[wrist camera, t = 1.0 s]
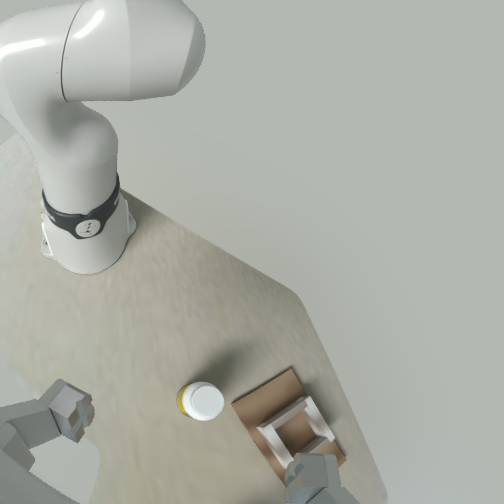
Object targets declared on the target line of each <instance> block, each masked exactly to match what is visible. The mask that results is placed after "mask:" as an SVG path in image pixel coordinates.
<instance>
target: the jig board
mask: <svg viewBox="0 0 504 504" xmlns="http://www.w3.org/2000/svg"><path fill="white" fill-rule="evenodd" d="M231 405H232V407H233V408H234V410H235V412H236V413H237V415H238V416H239V418H240V420H241V421H242V423H243V425H244V426H245V428H246V429H247V431H248V432H249V434H250V436H251V437H252V439H253V440H254V442H255V443H256V445H257V446H258V448H259V449H260V451H261V452H262V454H263V455H264V457H265V458H266V460H267V461H268V463H269V464H270V465H271V467H272V468H273V470H274V471H275V472H276V474H277V475H278V477H279V478H280V479H281V481H282V482H283V483H284V485H285V486H286V488H287V487H288V485H287V483H286V482H285V471H286V468H287V466H288V464H289V463H290V462H291V461H293V460H294V456H295V454H296V453H316V454H334V455H335V456H336V458H337V464H338V468H339V467H340V466H341V465H342V464H343V463H344V462H345V461H346V458H345V457H344V455H343V453H342V452H341V450H340V449H339V447H338V445H337V444H336V442H335V441H334V439H335V436H334V435H333V433H332V432H331V430H330V428H329V427H328V425H327V423H326V422H325V420H324V418H323V417H322V415H321V413H320V412H319V410H318V408H317V407H316V405H315V403H314V402H313V400H312V398H311V397H310V396H307V394H306V393H305V391H304V389H303V388H302V386H301V384H300V383H299V381H298V379H297V378H296V376H295V374H294V372H293V371H292V369H288V370H287V371H285V372H284V373H282V374H280V375H279V376H277V377H276V378H274V379H272V380H271V381H269V382H268V383H266V384H264V385H263V386H261V387H259V388H258V389H256V390H254V391H252V392H251V393H249V394H247V395H246V396H244V397H242V398H240V399H238V400H237V401H235V402H233V403H231Z"/></svg>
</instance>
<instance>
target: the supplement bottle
mask: <svg viewBox="0 0 504 504" xmlns="http://www.w3.org/2000/svg"><path fill="white" fill-rule="evenodd" d="M176 402H177V406H178V408H179V410H180V411H181V412H182V413H183V414H184V415H186V416H188V417H190V418H194V419H196V420H202V421H206V420H211V419H213V418H215V417H216V416H217V415H218V414H219V413H220V412H221V410H222V409H223V406H224V397H223V395H222V393H221V392H220V391H219V389H218V388H217V387H216V386H214V385H213V384H211V383H208V382H195V383H192V384H189V385H186V386H184V387H183V388H182V389H181V390H180V391H179V392H178V394H177V398H176Z"/></svg>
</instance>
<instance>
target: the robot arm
mask: <svg viewBox="0 0 504 504" xmlns="http://www.w3.org/2000/svg"><path fill="white" fill-rule="evenodd" d="M204 53H205V34H204V30H203V27H202V25H201V23H200V21H199V19H198V18H197V16H196V15H195V14H194V13H193V12H192V11H191V10H190V9H189V8H188V7H187V6H186V5H185V4H184V2H183V1H182V0H89V1H86V2H77V3H69V4H60V5H53V6H47V7H41V8H36V9H32V10H28V11H25V12H23V13H20V14H18V15H16V16H14V17H11V18H9V19H7V20H5V21H3V22H2V23H0V116H1V117H2V118H4V119H5V120H6V121H7V122H8V123H9V124H10V125H11V126H12V127H13V128H14V129H15V131H16V132H17V133H18V134H19V135H20V137H21V138H22V139H23V141H24V142H25V144H26V145H27V147H28V148H29V150H30V152H31V153H32V155H33V158H34V160H35V163H36V166H37V170H38V173H39V176H40V180H41V183H42V187H43V190H42V196H43V197H42V198H41V208H42V210H45V211H44V212H41V219H42V220H44V222H42V228H43V232H42V245H41V250H42V253H43V255H44V256H46V257H48V258H51V259H54V260H56V261H58V262H59V263H60V264H61V265H62V266H63V267H65V268H66V269H68V270H69V271H72V272H75V273H79V274H93V273H97V272H100V271H102V270H105V269H106V268H108V267H110V266H111V265H112V264H113V263H115V262H116V261H117V259H118V258H119V257H120V256H121V254H122V252H123V250H124V248H125V245H126V242H127V239H128V238H129V237H130V236H131V235H132V234H133V232H134V231H135V230H136V227H137V225H136V221H135V219H134V218H133V216H132V215H131V213H130V211H129V210H128V202H127V200H125V199H124V197H123V195H122V194H121V192H120V182H119V176H118V173H117V152H118V139H117V135H116V132H115V130H114V128H113V127H112V125H111V123H110V122H109V121H108V120H107V119H106V118H105V117H104V116H103V115H101V114H100V113H98V112H96V111H94V110H92V109H90V108H88V107H87V106H85V105H84V104H83V103H82V102H81V101H133V100H141V99H148V98H156V97H164V96H172V95H174V94H176V93H177V92H179V91H180V90H181V89H182V88H184V87H185V86H186V85H187V84H188V83H189V82H190V80H191V79H192V78H193V77H194V75H195V74H196V73H197V71H198V69H199V67H200V65H201V63H202V60H203V57H204ZM47 243H48V245H46V244H47ZM91 401H92V398H91V395H90V394H88V393H86V392H84V391H82V390H80V389H78V388H77V387H75V386H73V385H71V384H70V383H68V382H66V381H64V380H62V379H58V380H56V381H55V382H54V383H53V384H52V386H51V387H50V388H49V389H48V390H47V391H46V392H45V393H44V394H43V395H42V396H41V398H40V399H39V400H36V399H34V400H30V401H26V402H22V403H18V404H14V405H9V406H5V407H0V504H79V503H78V502H76V501H74V500H72V499H71V498H69V497H67V496H65V495H64V494H62V493H60V492H59V491H57V490H56V489H54V488H53V487H51V486H49V485H48V484H46V483H45V482H43V481H42V480H41V479H39V478H38V477H36V476H35V475H33V474H32V473H31V472H29V470H30V468H31V467H32V465H33V464H34V462H35V458H34V456H33V455H32V454H31V452H30V451H29V449H31V448H33V447H36V446H38V445H40V444H43V443H45V442H47V441H50V440H52V439H54V438H56V437H59V436H61V434H62V435H63V436H65V437H67V438H69V439H70V440H72V441H74V442H76V443H78V442H79V441H80V439H81V438H82V436H83V435H84V433H85V432H84V428H85V427H87V426H90V424H91V422H92V421H93V418H94V412H95V410H94V407H93V405H92V404H91V403H90V402H91ZM285 482H286V483H287V485H288V487H287V488H286V489H285V503H290V504H360V503H359V502H358V501H357V500H356V499H355V498H354V497H353V496H352V495H351V494H350V492H349V491H348V490H347V489H346V488H345V487H341V483H340V476H339V470H338V464H337V458H336V456H335V455H334V454H316V453H296V454H295V456H294V460H293V461H291V462H290V463H289V464H288V466H287V468H286V471H285Z"/></svg>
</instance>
